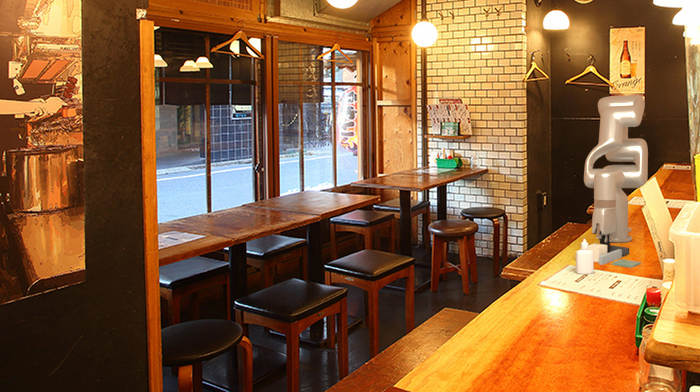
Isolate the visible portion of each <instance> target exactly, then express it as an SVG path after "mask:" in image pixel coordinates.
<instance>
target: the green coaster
mask: <svg viewBox="0 0 700 392" xmlns="http://www.w3.org/2000/svg"><path fill="white" fill-rule="evenodd" d="M641 263H642V262H641V261H634V260H630V259H629V260H628V259H622V258H620V259H617V260H615V261H612V263H611V265H612V266H616V267H617V266H618V267H624V268H630V269H632V268H634V267H637V266H640V265H641Z"/></svg>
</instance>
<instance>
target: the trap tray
mask: <svg viewBox="0 0 700 392" xmlns="http://www.w3.org/2000/svg"><path fill="white" fill-rule="evenodd" d="M618 249H621V250H622V258H623V257H626V256H629V255H630V247H625V246H618V245H611V244H610V252H612V251H615V250H618ZM610 252H608V253H610ZM628 254H629V255H628Z"/></svg>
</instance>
